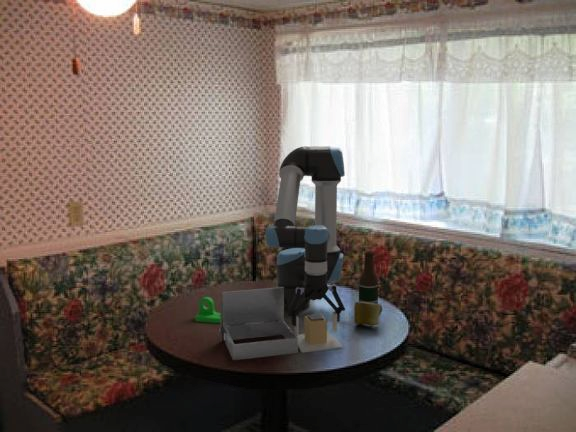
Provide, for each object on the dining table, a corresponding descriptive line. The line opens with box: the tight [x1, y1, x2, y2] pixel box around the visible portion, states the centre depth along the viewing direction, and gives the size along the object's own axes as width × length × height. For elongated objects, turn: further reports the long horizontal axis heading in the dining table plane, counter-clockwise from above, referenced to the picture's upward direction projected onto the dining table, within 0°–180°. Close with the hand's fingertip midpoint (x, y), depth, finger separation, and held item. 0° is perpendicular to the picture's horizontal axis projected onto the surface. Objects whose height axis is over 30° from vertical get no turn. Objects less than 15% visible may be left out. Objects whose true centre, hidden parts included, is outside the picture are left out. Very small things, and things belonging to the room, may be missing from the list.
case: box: [218, 286, 299, 361], centre depth 192 cm, size 23×18×17 cm
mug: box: [353, 301, 383, 327], centre depth 211 cm, size 12×10×10 cm
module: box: [304, 313, 328, 345], centre depth 196 cm, size 6×6×9 cm
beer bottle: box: [358, 250, 379, 304], centre depth 226 cm, size 8×8×24 cm
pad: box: [296, 330, 343, 354], centre depth 196 cm, size 14×14×1 cm
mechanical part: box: [194, 296, 221, 324], centre depth 218 cm, size 12×6×8 cm, turn 75°
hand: (315, 332), depth 196 cm, fingers open, 13 cm apart
